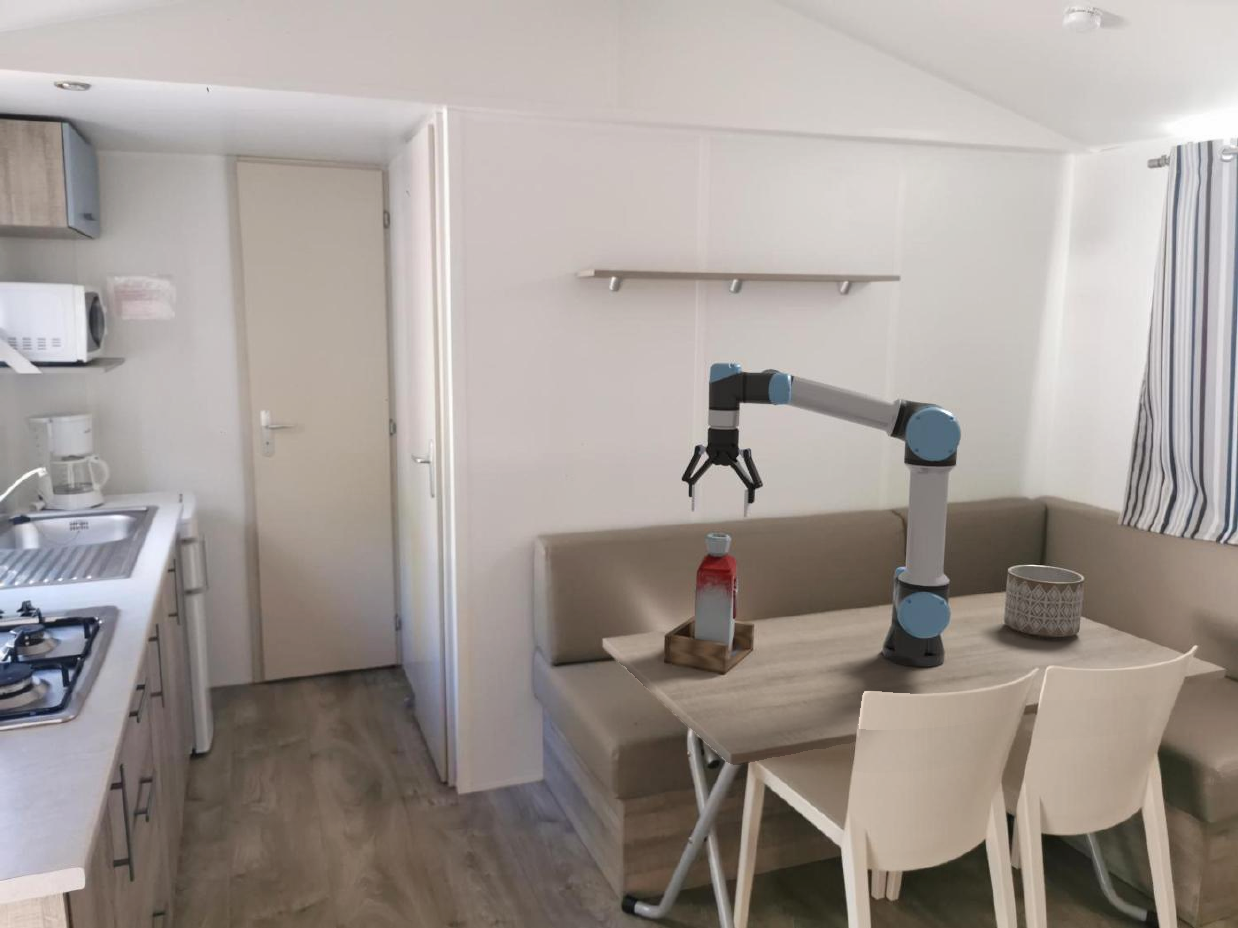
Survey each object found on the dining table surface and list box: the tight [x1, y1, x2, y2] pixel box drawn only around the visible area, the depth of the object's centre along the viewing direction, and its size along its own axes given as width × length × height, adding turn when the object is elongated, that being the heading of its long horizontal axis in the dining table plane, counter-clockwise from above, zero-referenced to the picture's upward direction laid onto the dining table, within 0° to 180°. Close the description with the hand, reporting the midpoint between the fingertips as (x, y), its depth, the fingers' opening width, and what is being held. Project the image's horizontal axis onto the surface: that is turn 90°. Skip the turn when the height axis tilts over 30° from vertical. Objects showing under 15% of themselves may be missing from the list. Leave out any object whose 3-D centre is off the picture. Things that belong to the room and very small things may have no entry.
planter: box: [1003, 564, 1085, 638], centre depth 273 cm, size 19×19×16 cm
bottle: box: [694, 533, 739, 660], centre depth 245 cm, size 14×10×30 cm
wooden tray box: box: [663, 614, 755, 675], centre depth 248 cm, size 16×20×7 cm
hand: (720, 513), depth 243 cm, fingers open, 13 cm apart
